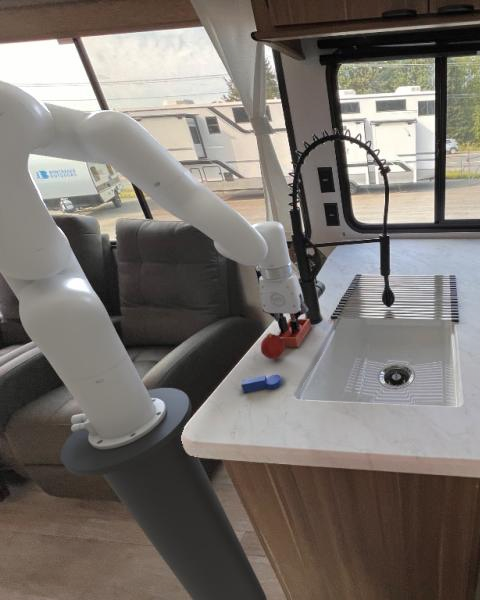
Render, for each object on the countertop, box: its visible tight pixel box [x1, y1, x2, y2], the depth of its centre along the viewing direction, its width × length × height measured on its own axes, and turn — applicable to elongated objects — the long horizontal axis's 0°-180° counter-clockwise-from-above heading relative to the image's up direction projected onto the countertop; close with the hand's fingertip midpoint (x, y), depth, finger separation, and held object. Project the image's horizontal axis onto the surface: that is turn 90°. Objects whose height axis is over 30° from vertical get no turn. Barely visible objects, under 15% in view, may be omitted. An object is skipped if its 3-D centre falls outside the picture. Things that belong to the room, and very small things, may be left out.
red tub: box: [276, 318, 312, 348], centre depth 90 cm, size 11×6×3 cm, turn 175°
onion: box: [260, 332, 286, 360], centre depth 80 cm, size 6×6×8 cm
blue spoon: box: [241, 374, 283, 394], centre depth 72 cm, size 8×3×2 cm, turn 106°
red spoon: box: [283, 324, 302, 337], centre depth 90 cm, size 8×3×2 cm, turn 175°
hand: (290, 330), depth 88 cm, fingers closed
